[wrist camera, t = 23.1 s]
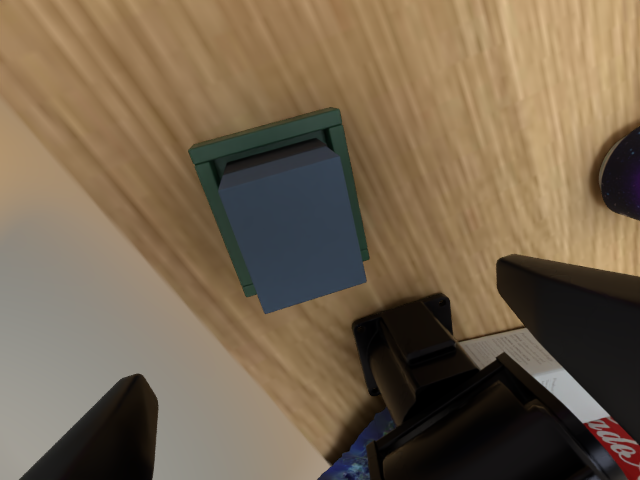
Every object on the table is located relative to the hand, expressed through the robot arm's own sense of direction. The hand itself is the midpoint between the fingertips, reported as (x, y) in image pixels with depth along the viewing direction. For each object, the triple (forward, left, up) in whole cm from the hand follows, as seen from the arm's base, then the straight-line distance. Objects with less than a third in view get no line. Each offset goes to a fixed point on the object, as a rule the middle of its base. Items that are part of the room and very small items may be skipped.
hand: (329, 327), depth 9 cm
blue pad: (0, 0, -8) cm, 8 cm away
